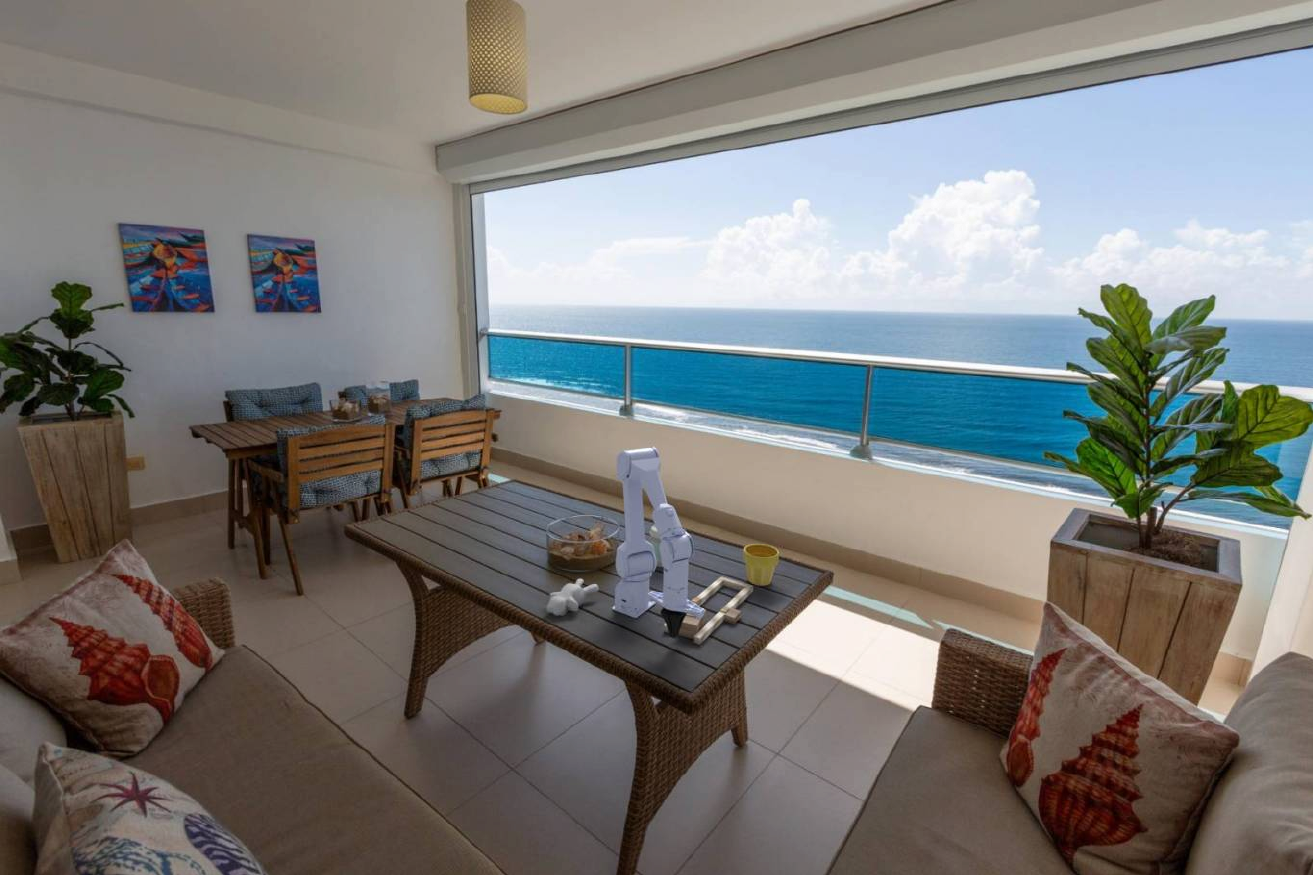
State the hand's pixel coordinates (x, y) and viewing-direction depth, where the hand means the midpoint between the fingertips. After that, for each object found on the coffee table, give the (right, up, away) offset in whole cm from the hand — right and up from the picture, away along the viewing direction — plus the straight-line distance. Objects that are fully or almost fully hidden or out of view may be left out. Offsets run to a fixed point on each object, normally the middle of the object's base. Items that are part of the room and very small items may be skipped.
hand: (674, 635), depth 133 cm
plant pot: (+27, +4, +33) cm, 43 cm away
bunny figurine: (-27, +2, +18) cm, 33 cm away
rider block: (+5, -1, +8) cm, 9 cm away
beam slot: (+12, +1, +16) cm, 20 cm away
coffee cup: (-2, +7, +43) cm, 44 cm away
